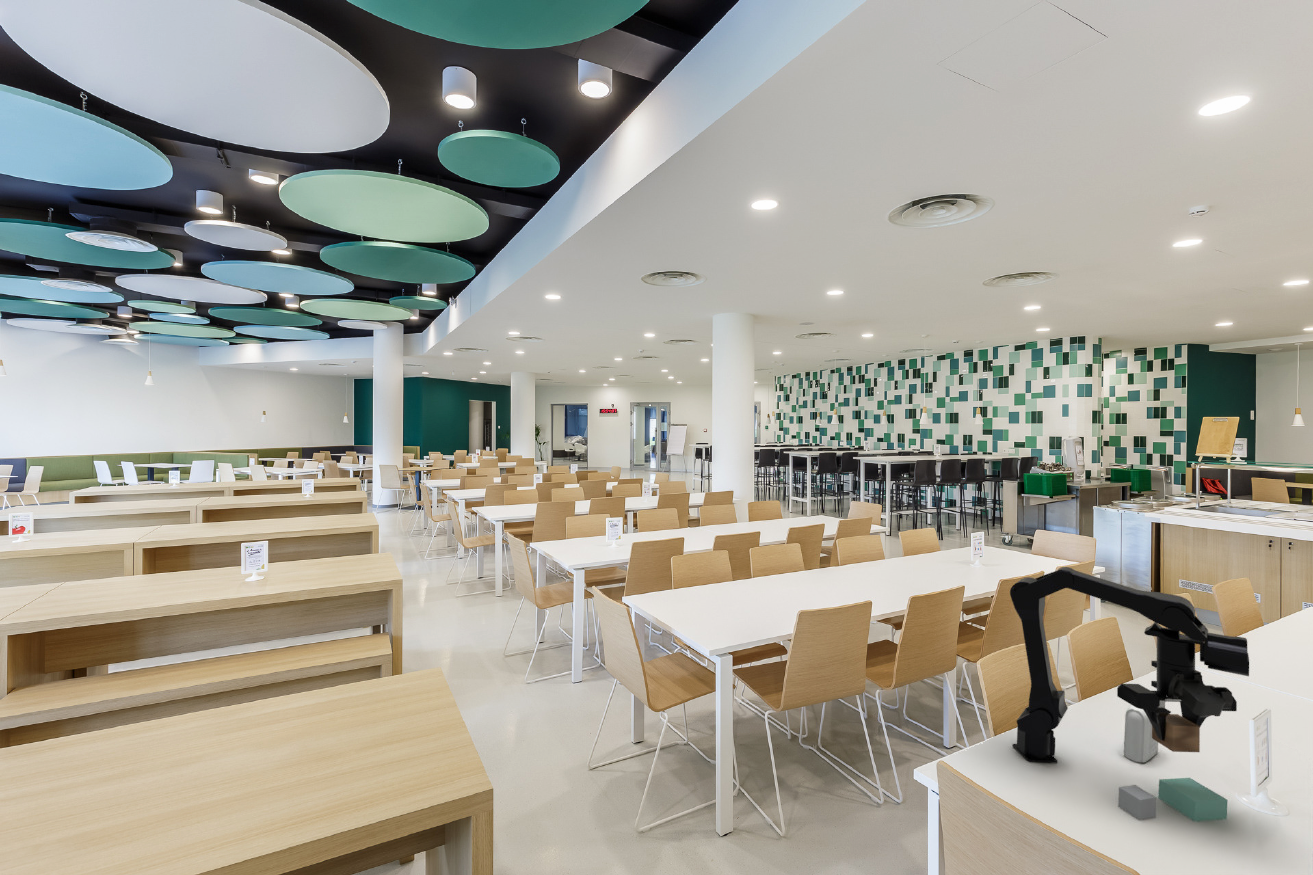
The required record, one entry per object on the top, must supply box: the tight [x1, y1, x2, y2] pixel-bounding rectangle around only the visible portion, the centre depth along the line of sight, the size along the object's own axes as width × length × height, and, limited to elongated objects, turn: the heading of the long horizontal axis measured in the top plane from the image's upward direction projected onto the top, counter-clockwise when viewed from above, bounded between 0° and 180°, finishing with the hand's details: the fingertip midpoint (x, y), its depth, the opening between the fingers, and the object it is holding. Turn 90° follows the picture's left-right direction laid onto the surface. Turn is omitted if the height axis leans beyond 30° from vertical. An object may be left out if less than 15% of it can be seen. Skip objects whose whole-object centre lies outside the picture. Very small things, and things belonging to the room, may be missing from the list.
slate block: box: [1117, 784, 1157, 821], centre depth 113 cm, size 4×4×4 cm
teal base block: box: [1158, 777, 1228, 822], centre depth 114 cm, size 7×7×4 cm
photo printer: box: [1123, 704, 1159, 764], centre depth 133 cm, size 10×4×12 cm, turn 123°
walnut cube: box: [1152, 713, 1201, 753], centre depth 115 cm, size 5×5×5 cm
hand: (1175, 739), depth 115 cm, fingers closed on walnut cube, 5 cm apart
